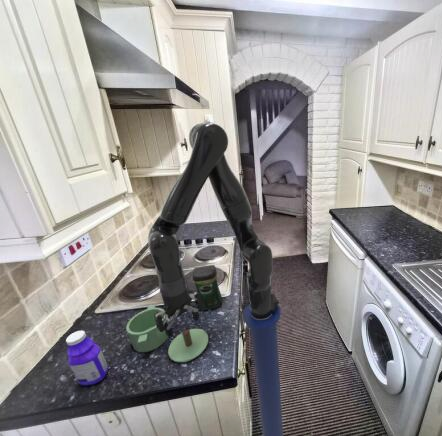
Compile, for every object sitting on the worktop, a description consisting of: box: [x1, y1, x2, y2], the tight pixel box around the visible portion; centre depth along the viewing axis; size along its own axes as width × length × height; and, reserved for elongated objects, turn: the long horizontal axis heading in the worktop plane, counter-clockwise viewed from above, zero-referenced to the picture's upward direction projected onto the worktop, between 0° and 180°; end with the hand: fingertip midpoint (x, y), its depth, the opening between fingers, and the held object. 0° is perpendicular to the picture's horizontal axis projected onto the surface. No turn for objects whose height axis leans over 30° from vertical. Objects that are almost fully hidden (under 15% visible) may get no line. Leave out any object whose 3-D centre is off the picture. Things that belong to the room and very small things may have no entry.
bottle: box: [65, 330, 109, 386], centre depth 68 cm, size 7×6×17 cm
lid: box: [167, 328, 209, 363], centre depth 79 cm, size 13×13×7 cm
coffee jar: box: [192, 264, 223, 311], centre depth 96 cm, size 10×8×19 cm
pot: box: [125, 304, 169, 353], centre depth 83 cm, size 12×17×8 cm
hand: (183, 327), depth 77 cm, fingers open, 8 cm apart
